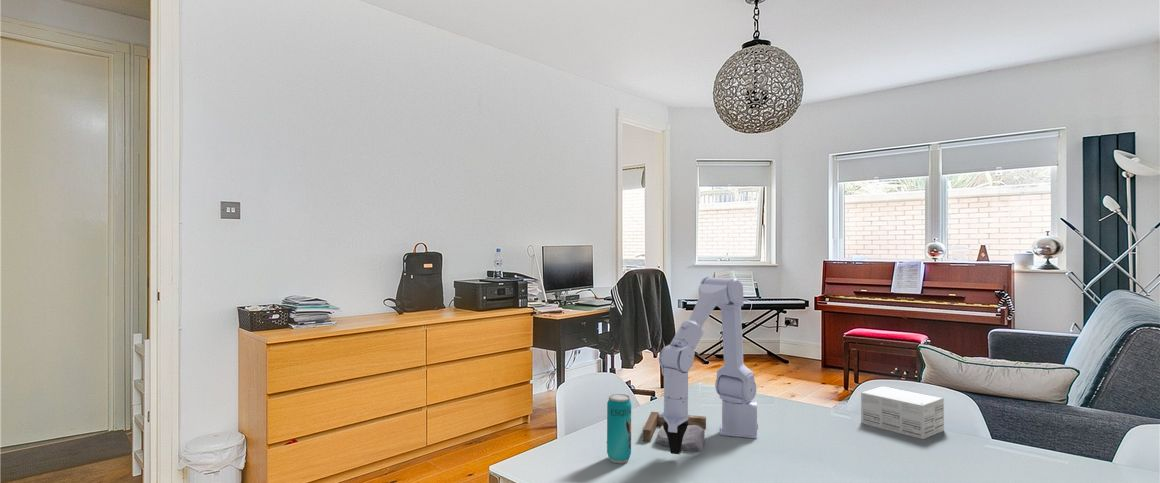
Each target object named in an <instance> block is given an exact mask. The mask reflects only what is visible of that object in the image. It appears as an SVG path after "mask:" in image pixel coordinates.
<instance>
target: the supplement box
mask: <svg viewBox="0 0 1160 483" xmlns="http://www.w3.org/2000/svg"><path fill="white" fill-rule="evenodd" d="M860 398H861V399H860V401H861V402H860V407H861V408H860V411H861V412H860V415H861V417H860V424H865V425H868V426H871V427H875V428H879V429H883V430H887V431H890V432H893V433H894V432H895V433H897V434H901V435H904V436H905V435H906V436H908V437H913V438H916V439H920V440H924V439H925V440H926V439H927V438H930V437H932V436H934V435H936V434H939V433H942V432H944V431H945V410H944V409H945V406H944V405H945V402H944V401H945V400H944V398H943V397H938V396H934V395H930V394H929V395H928V394H923V393H918V392H913V391H908V390H903V389H900V388H899V389H898V388H892V387H888V386H879V387H876V388H872V389H868V390H865V391H862V392H861V393H860Z"/></svg>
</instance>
